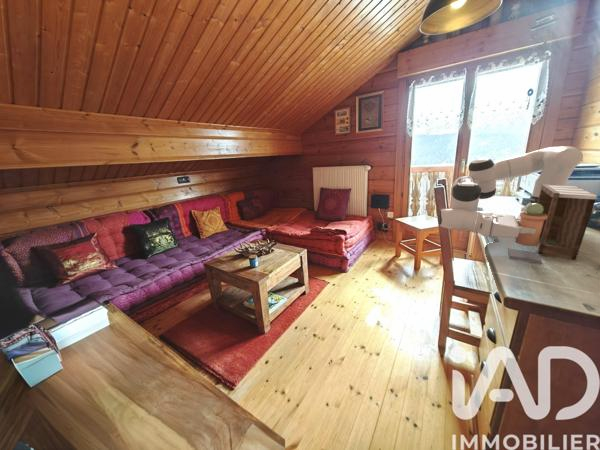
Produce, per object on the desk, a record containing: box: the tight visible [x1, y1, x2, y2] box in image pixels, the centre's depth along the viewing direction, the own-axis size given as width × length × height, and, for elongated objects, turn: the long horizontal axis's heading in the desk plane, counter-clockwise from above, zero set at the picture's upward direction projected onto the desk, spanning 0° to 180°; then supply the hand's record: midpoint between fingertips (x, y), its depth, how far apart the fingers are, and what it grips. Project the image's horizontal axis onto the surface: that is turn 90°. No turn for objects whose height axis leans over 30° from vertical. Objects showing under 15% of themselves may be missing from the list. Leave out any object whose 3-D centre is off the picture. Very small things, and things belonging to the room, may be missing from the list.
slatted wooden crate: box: [537, 184, 598, 261], centre depth 93 cm, size 25×10×24 cm, turn 143°
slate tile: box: [507, 247, 542, 265], centre depth 88 cm, size 9×8×1 cm
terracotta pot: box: [514, 203, 548, 247], centre depth 84 cm, size 7×7×15 cm
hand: (533, 228), depth 84 cm, fingers closed on terracotta pot, 6 cm apart
